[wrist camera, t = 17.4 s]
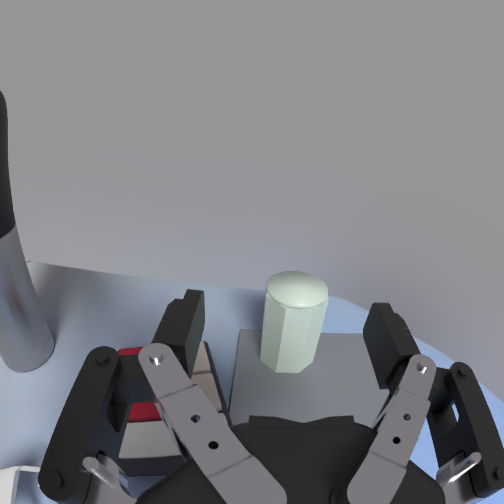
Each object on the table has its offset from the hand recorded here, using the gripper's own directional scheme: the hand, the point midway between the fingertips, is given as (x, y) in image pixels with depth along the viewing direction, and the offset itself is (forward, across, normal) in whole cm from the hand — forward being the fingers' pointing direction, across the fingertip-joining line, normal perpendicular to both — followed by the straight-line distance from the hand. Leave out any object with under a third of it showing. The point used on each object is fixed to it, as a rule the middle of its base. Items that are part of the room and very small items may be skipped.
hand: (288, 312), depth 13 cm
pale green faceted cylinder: (+14, -3, +18) cm, 23 cm away
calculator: (+4, +9, +19) cm, 22 cm away
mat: (+9, -7, +18) cm, 22 cm away
